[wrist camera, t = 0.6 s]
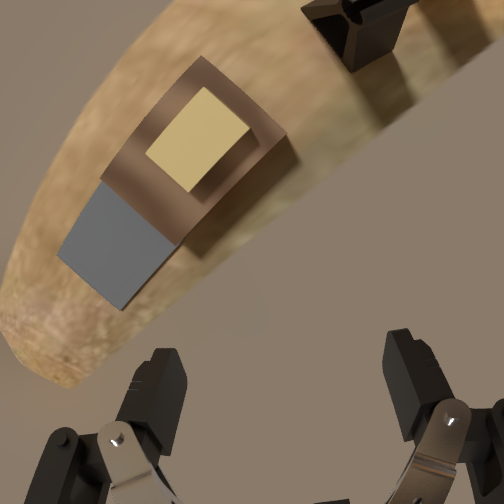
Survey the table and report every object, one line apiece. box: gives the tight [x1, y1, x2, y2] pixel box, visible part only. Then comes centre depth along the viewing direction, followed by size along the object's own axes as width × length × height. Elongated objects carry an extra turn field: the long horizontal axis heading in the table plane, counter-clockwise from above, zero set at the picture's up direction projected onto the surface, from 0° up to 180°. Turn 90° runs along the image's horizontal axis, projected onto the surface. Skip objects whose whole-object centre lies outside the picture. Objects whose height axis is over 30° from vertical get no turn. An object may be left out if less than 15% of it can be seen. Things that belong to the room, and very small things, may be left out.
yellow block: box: [145, 87, 251, 193], centre depth 27 cm, size 8×6×2 cm
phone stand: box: [301, 0, 419, 73], centre depth 21 cm, size 9×6×12 cm, turn 36°
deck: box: [100, 56, 287, 246], centre depth 31 cm, size 16×11×4 cm
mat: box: [57, 181, 184, 311], centre depth 37 cm, size 15×12×1 cm
